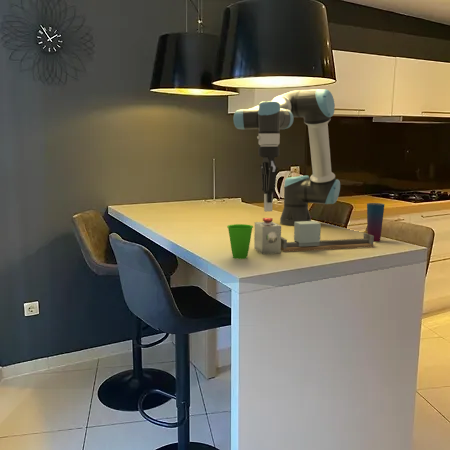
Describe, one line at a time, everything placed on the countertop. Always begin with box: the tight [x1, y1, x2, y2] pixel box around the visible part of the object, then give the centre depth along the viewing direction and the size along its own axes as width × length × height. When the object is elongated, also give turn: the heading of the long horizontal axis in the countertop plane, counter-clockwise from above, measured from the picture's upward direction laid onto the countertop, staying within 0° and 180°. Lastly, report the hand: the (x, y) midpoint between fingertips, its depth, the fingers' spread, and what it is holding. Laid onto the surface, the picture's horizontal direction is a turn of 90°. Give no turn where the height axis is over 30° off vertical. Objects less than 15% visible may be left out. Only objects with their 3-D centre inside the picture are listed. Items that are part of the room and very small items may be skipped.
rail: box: [281, 232, 374, 253], centre depth 189 cm, size 6×36×4 cm, turn 103°
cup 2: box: [366, 202, 385, 242], centre depth 202 cm, size 7×7×15 cm
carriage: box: [293, 220, 322, 247], centre depth 187 cm, size 6×8×8 cm
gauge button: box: [262, 217, 274, 225], centre depth 183 cm, size 4×4×8 cm
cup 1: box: [227, 223, 254, 260], centre depth 173 cm, size 9×9×11 cm
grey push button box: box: [253, 221, 282, 255], centre depth 183 cm, size 11×7×10 cm, turn 13°
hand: (268, 211), depth 182 cm, fingers closed
